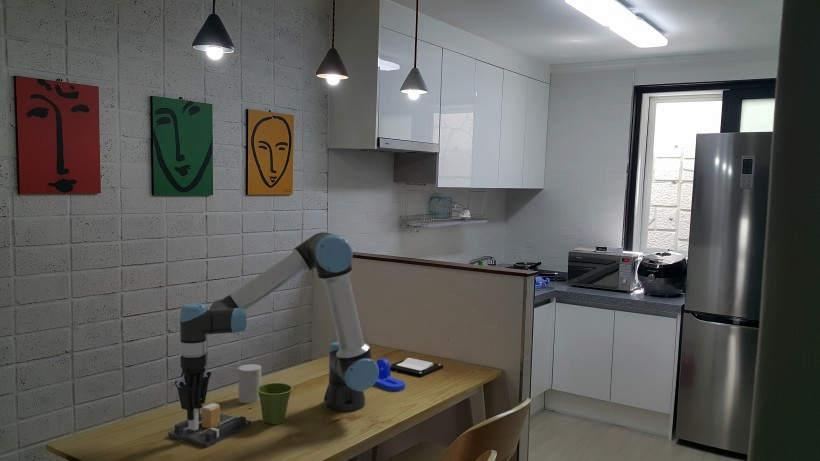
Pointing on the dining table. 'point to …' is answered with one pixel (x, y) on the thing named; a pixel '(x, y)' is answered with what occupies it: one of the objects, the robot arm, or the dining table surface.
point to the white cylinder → (249, 383)
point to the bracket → (387, 377)
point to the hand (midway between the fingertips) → (193, 428)
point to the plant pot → (274, 401)
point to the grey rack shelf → (214, 431)
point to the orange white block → (210, 415)
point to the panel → (200, 434)
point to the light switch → (415, 367)
